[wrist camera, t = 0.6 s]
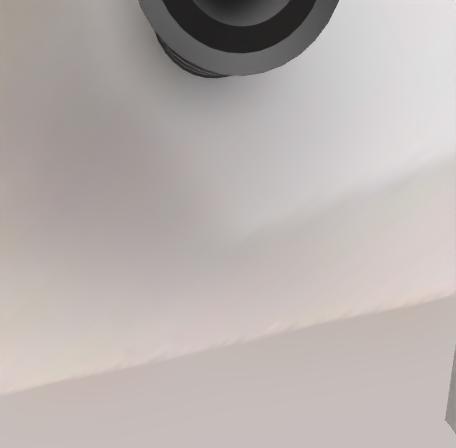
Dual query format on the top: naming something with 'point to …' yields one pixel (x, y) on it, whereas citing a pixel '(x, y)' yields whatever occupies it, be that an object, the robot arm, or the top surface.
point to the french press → (236, 32)
